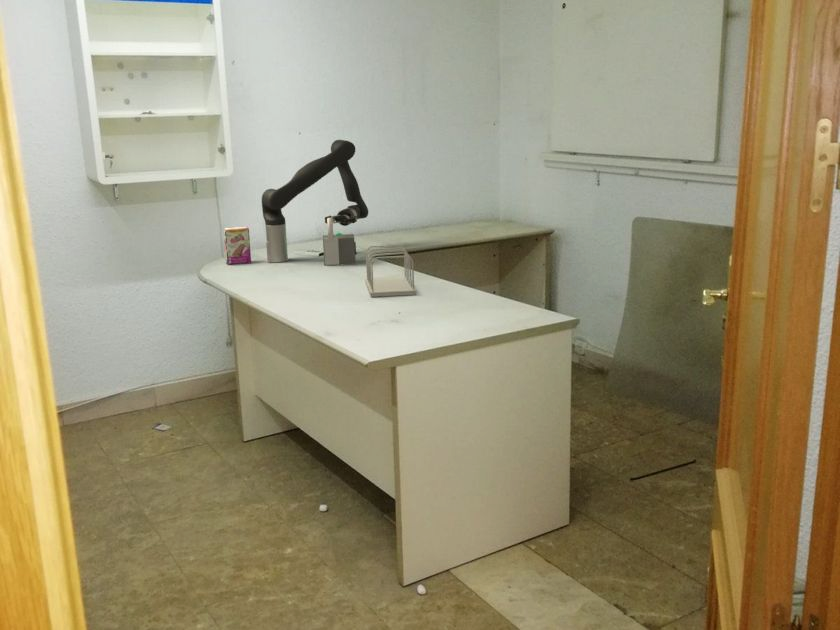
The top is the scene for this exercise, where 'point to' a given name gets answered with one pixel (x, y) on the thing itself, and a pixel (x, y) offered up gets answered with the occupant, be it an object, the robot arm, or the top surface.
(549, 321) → the top surface
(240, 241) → the candy bar box
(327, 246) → the grey spatula
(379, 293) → the file sorter
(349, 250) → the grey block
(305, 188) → the robot arm
